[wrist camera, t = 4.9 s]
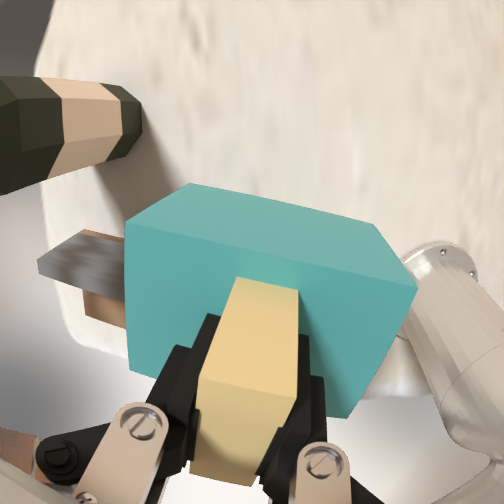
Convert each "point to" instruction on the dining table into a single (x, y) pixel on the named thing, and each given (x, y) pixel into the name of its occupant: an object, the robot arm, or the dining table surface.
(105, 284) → the wall board
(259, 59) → the dining table surface
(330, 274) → the teal block
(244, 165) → the dining table surface
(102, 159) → the wine bottle
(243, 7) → the dining table surface
